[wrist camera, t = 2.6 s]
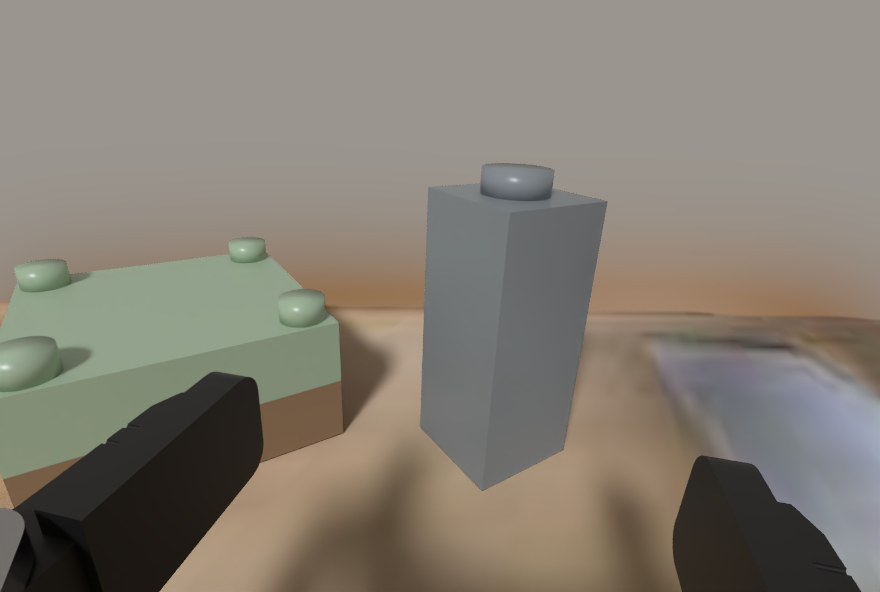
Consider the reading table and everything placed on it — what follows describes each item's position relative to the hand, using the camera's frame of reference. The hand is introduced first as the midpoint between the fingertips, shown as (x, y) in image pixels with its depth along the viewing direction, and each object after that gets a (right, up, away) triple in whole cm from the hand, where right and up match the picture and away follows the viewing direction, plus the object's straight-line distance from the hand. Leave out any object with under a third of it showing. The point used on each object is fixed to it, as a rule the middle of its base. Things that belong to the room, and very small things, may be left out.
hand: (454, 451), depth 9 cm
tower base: (-13, -3, +16) cm, 21 cm away
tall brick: (+2, -4, +15) cm, 16 cm away
